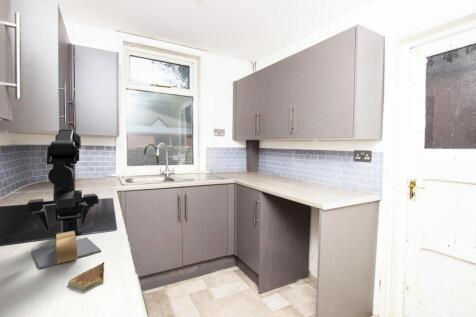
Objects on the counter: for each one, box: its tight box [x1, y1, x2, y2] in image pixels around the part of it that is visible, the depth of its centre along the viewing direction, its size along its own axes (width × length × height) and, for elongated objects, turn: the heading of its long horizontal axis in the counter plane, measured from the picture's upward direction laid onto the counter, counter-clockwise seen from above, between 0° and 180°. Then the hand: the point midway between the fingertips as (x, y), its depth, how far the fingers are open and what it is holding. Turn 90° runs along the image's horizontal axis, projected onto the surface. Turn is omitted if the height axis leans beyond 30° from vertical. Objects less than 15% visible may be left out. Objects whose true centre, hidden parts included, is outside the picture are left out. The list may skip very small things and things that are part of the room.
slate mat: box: [30, 236, 102, 270], centre depth 80 cm, size 16×16×1 cm
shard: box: [67, 261, 105, 291], centre depth 65 cm, size 11×8×2 cm
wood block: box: [55, 231, 78, 265], centre depth 78 cm, size 5×5×13 cm
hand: (65, 227), depth 80 cm, fingers open, 9 cm apart
